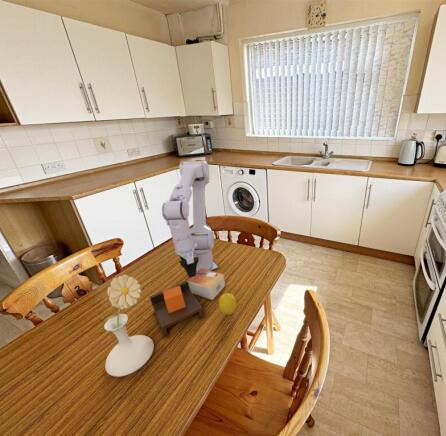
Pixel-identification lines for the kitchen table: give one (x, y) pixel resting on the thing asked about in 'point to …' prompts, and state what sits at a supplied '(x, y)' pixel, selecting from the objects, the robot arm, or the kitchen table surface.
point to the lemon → (227, 304)
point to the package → (174, 299)
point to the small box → (206, 283)
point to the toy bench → (178, 315)
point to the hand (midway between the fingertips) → (189, 270)
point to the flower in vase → (128, 346)
